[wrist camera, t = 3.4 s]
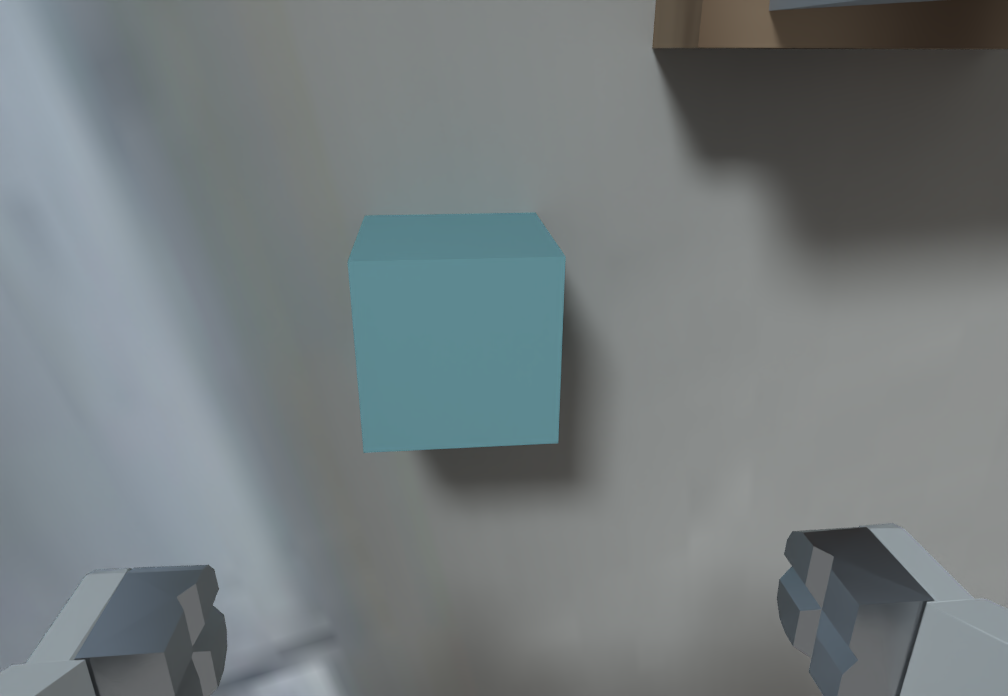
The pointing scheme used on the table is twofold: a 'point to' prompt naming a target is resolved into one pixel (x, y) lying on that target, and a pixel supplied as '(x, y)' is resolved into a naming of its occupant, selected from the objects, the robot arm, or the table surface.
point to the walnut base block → (832, 25)
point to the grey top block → (828, 3)
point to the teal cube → (457, 330)
